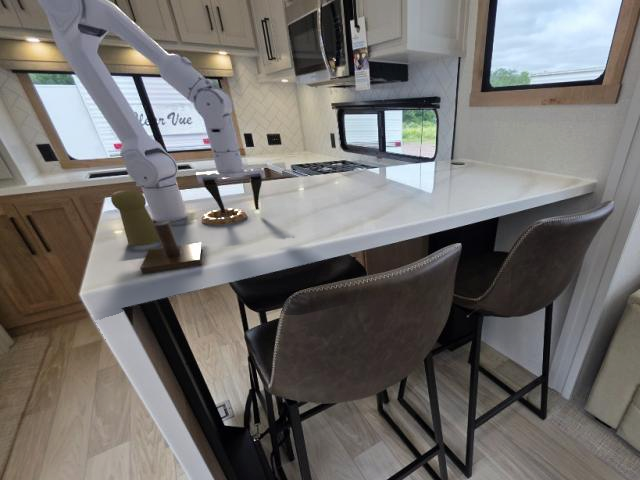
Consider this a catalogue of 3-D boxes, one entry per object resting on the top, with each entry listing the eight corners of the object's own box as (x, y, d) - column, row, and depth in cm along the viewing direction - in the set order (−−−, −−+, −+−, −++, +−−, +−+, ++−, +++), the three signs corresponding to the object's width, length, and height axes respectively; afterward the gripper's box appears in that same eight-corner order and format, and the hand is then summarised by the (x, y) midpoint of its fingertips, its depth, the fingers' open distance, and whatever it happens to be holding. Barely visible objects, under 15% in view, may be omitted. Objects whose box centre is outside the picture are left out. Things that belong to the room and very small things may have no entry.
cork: (170, 243, 69) (150, 189, 64) (139, 253, 65) (114, 196, 59) (155, 238, 72) (134, 186, 66) (123, 247, 67) (98, 192, 62)
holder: (151, 255, 64) (135, 219, 60) (203, 248, 67) (191, 213, 63) (142, 274, 57) (125, 234, 53) (201, 265, 60) (188, 227, 56)
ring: (203, 219, 84) (201, 210, 82) (246, 214, 87) (244, 206, 86) (202, 231, 76) (199, 222, 75) (248, 225, 80) (246, 216, 78)
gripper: (188, 154, 69) (207, 218, 76) (261, 151, 74) (273, 210, 81) (190, 150, 74) (208, 210, 81) (258, 147, 80) (269, 204, 87)
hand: (240, 210), depth 82 cm, fingers open, 7 cm apart
